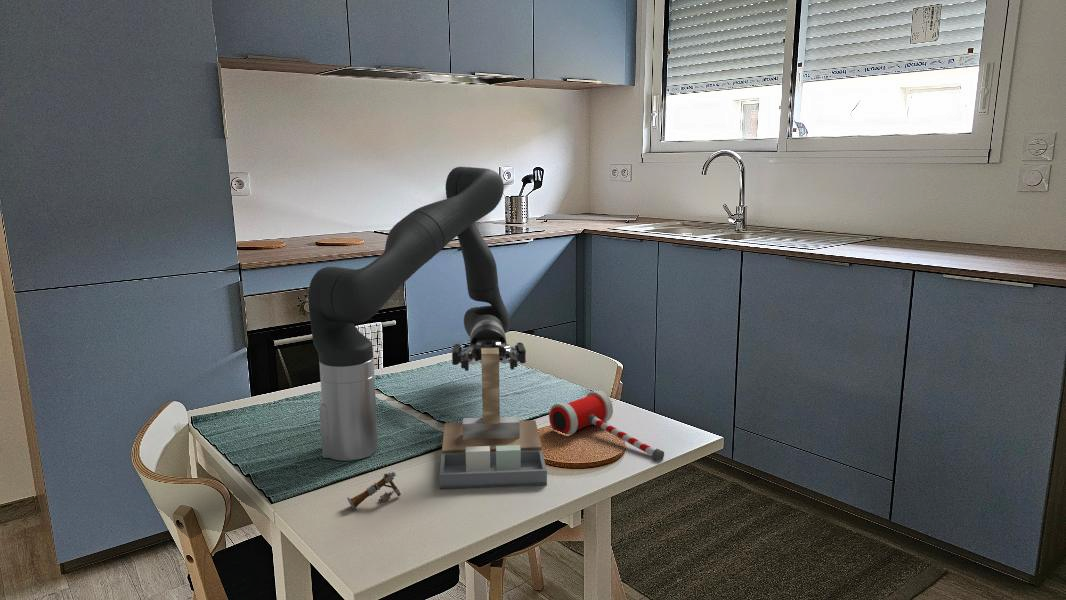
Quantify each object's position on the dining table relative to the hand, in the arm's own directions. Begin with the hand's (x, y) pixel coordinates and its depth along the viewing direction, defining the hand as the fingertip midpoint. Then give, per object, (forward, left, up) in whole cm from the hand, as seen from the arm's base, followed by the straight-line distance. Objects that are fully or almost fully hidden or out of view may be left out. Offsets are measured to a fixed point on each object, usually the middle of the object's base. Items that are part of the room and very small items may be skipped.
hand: (489, 365), depth 134 cm
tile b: (+3, -16, -11) cm, 20 cm away
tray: (0, -18, -13) cm, 22 cm away
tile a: (-2, -16, -11) cm, 20 cm away
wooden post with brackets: (-19, -25, -14) cm, 34 cm away
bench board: (0, -8, -13) cm, 16 cm away
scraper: (0, -9, -10) cm, 13 cm away
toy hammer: (+21, -3, -14) cm, 26 cm away
